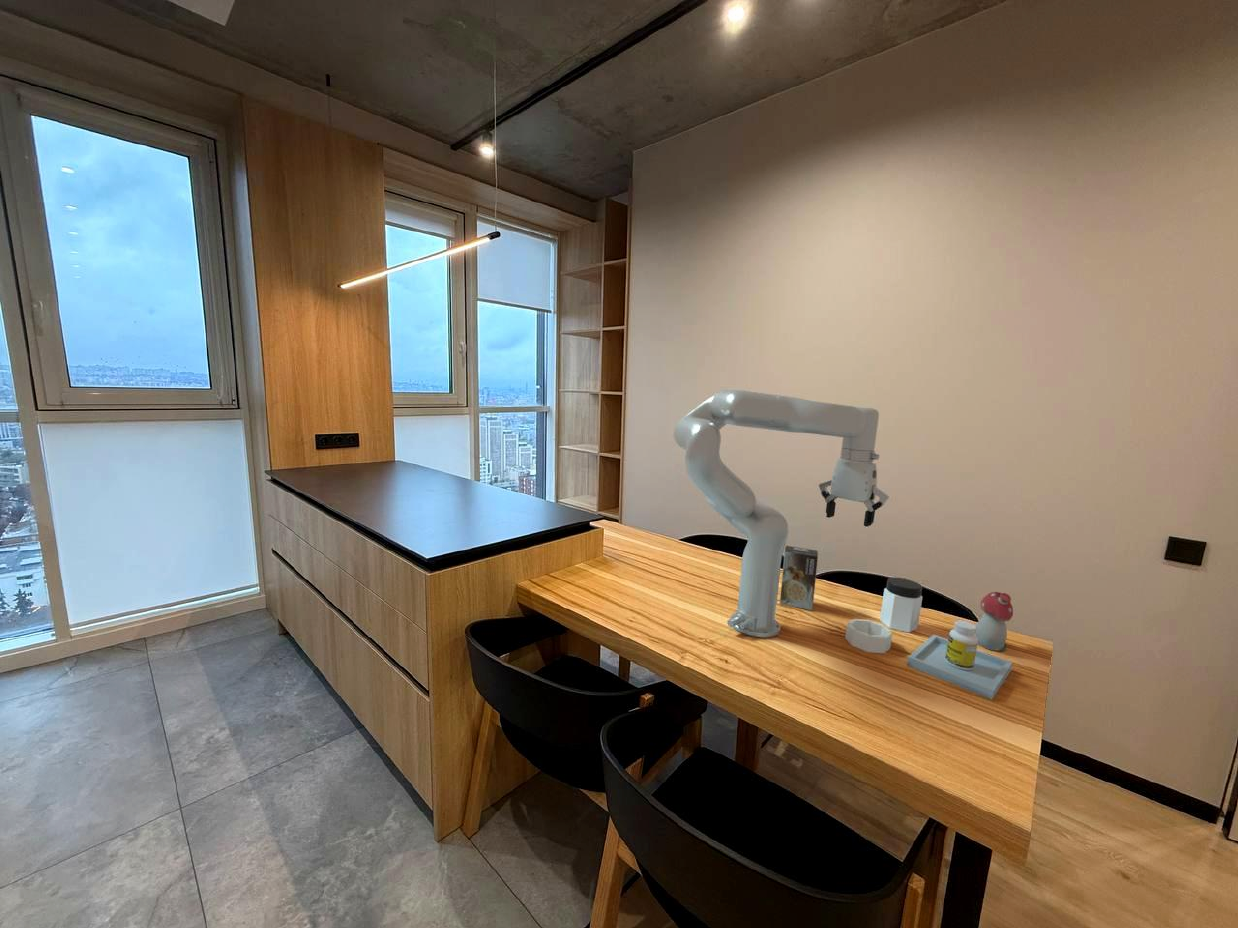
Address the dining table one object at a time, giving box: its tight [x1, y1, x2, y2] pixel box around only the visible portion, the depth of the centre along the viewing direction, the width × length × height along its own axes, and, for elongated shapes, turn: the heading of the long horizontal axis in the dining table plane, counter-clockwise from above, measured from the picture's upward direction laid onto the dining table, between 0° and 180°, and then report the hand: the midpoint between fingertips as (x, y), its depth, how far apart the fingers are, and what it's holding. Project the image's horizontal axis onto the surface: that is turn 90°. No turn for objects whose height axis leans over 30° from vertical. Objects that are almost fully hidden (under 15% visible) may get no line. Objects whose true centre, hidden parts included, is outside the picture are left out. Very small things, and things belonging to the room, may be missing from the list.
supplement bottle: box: [945, 620, 978, 670], centre depth 112 cm, size 5×5×10 cm
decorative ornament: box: [974, 591, 1014, 652], centre depth 124 cm, size 9×7×15 cm
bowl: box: [845, 618, 893, 654], centre depth 122 cm, size 9×9×4 cm
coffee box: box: [779, 545, 819, 611], centre depth 142 cm, size 9×6×16 cm
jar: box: [879, 577, 923, 633], centre depth 132 cm, size 9×8×12 cm
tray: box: [906, 634, 1013, 700], centre depth 113 cm, size 18×16×2 cm
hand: (848, 521), depth 128 cm, fingers open, 9 cm apart
